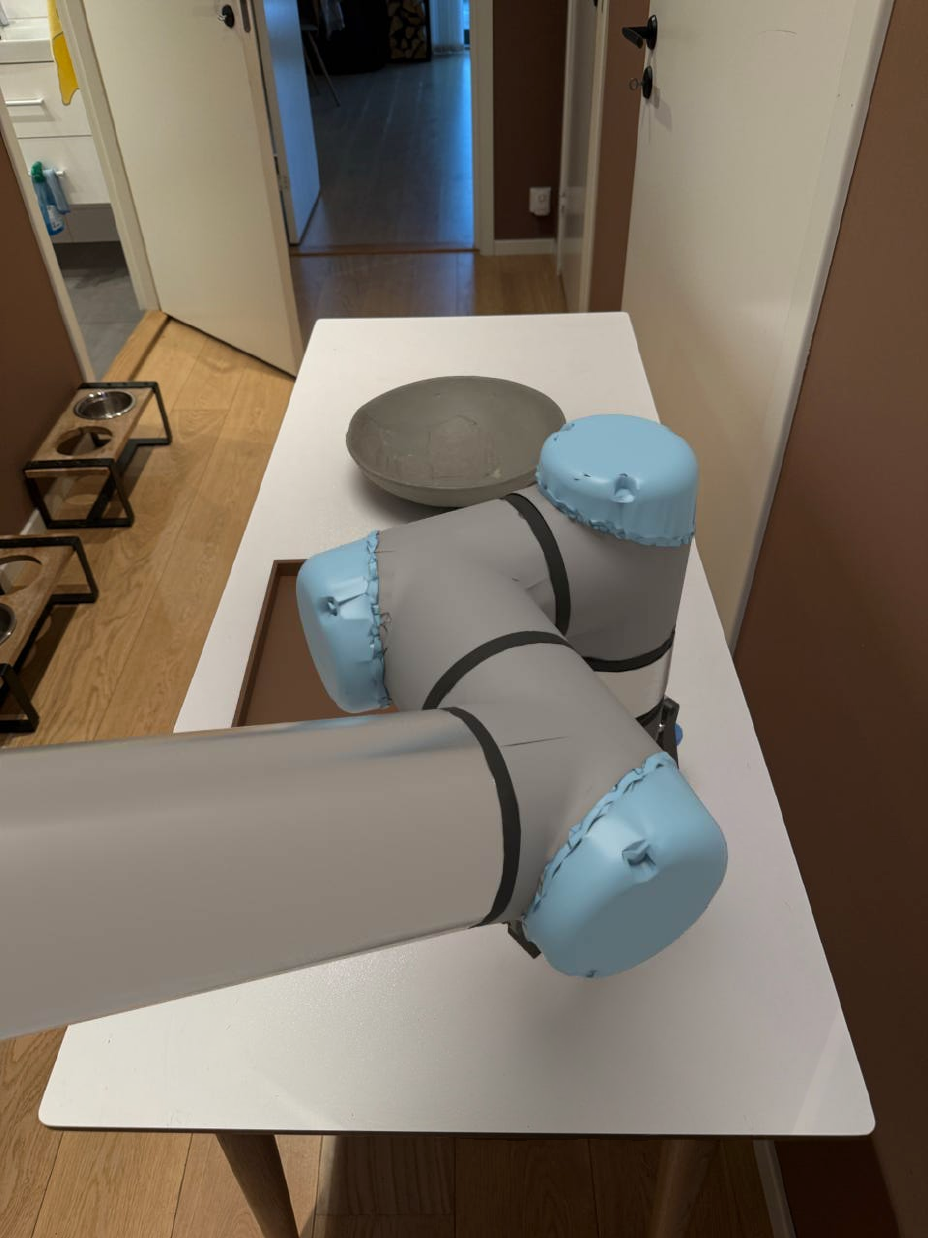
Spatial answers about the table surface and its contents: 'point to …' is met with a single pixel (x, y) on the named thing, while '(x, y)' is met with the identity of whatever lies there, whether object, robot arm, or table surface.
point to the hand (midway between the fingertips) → (576, 899)
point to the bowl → (453, 439)
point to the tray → (284, 663)
